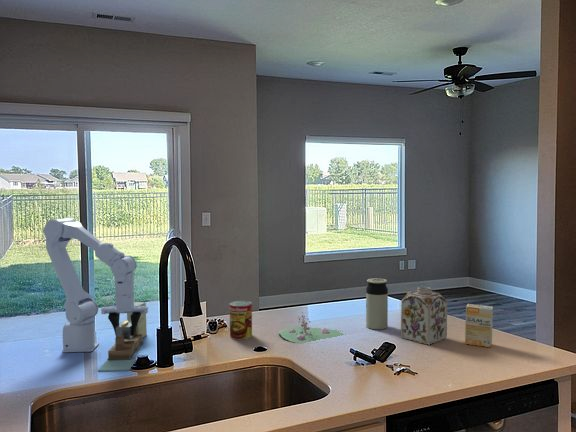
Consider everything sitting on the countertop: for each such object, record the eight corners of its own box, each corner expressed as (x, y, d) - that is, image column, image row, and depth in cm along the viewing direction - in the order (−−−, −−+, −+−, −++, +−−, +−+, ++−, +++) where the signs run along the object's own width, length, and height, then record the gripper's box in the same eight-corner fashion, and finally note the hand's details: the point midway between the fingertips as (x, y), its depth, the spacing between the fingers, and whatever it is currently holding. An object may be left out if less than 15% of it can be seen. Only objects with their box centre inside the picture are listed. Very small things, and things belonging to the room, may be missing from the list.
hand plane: (130, 360, 153) (129, 337, 152) (107, 360, 152) (106, 338, 152) (143, 342, 170) (142, 322, 170) (122, 342, 170) (122, 322, 169)
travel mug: (390, 326, 188) (390, 279, 187) (382, 331, 181) (383, 282, 180) (371, 323, 192) (371, 277, 191) (362, 328, 185) (362, 280, 184)
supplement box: (464, 344, 165) (465, 306, 164) (466, 340, 170) (467, 303, 169) (491, 348, 161) (491, 308, 161) (492, 344, 166) (493, 305, 165)
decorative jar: (428, 346, 164) (429, 292, 163) (399, 338, 173) (400, 287, 172) (448, 338, 172) (448, 287, 171) (419, 331, 181) (419, 282, 180)
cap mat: (98, 371, 143) (98, 370, 143) (106, 361, 151) (106, 360, 151) (129, 370, 144) (129, 369, 144) (136, 360, 152) (136, 359, 152)
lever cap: (115, 339, 158) (115, 324, 157) (121, 334, 164) (120, 319, 163) (130, 339, 158) (129, 324, 158) (134, 333, 164) (134, 319, 164)
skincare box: (138, 340, 172) (137, 306, 172) (126, 339, 173) (126, 305, 173) (147, 335, 179) (146, 301, 178) (135, 334, 180) (135, 301, 179)
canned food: (225, 338, 174) (225, 304, 173) (236, 332, 181) (236, 299, 181) (245, 340, 171) (245, 306, 171) (255, 334, 179) (255, 301, 178)
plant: (338, 326, 190) (338, 302, 190) (355, 342, 170) (355, 316, 170) (274, 329, 186) (274, 306, 185) (283, 347, 166) (283, 320, 165)
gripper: (97, 297, 155) (98, 339, 156) (144, 296, 156) (145, 338, 157) (104, 292, 163) (105, 332, 163) (149, 291, 163) (150, 331, 164)
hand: (125, 335), depth 161 cm, fingers closed on lever cap, 4 cm apart
